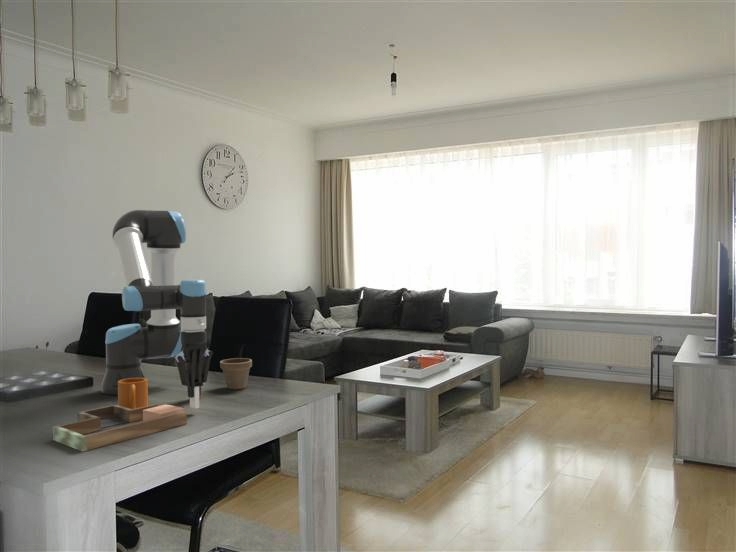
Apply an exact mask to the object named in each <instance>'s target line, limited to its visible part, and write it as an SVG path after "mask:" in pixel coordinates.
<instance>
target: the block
mask: <svg viewBox="0 0 736 552" xmlns="http://www.w3.org/2000/svg"><path fill="white" fill-rule="evenodd" d="M184 409H185V408H184V407H180V406H176V405H171V404H162V405H158V406H157V407H153V408H149V409H145V410H143V420H142V421H146V420H150V419H154V418H158V417H163V416H167V415H171V414H175V413H179V412H183V411H185V410H184Z"/></svg>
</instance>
